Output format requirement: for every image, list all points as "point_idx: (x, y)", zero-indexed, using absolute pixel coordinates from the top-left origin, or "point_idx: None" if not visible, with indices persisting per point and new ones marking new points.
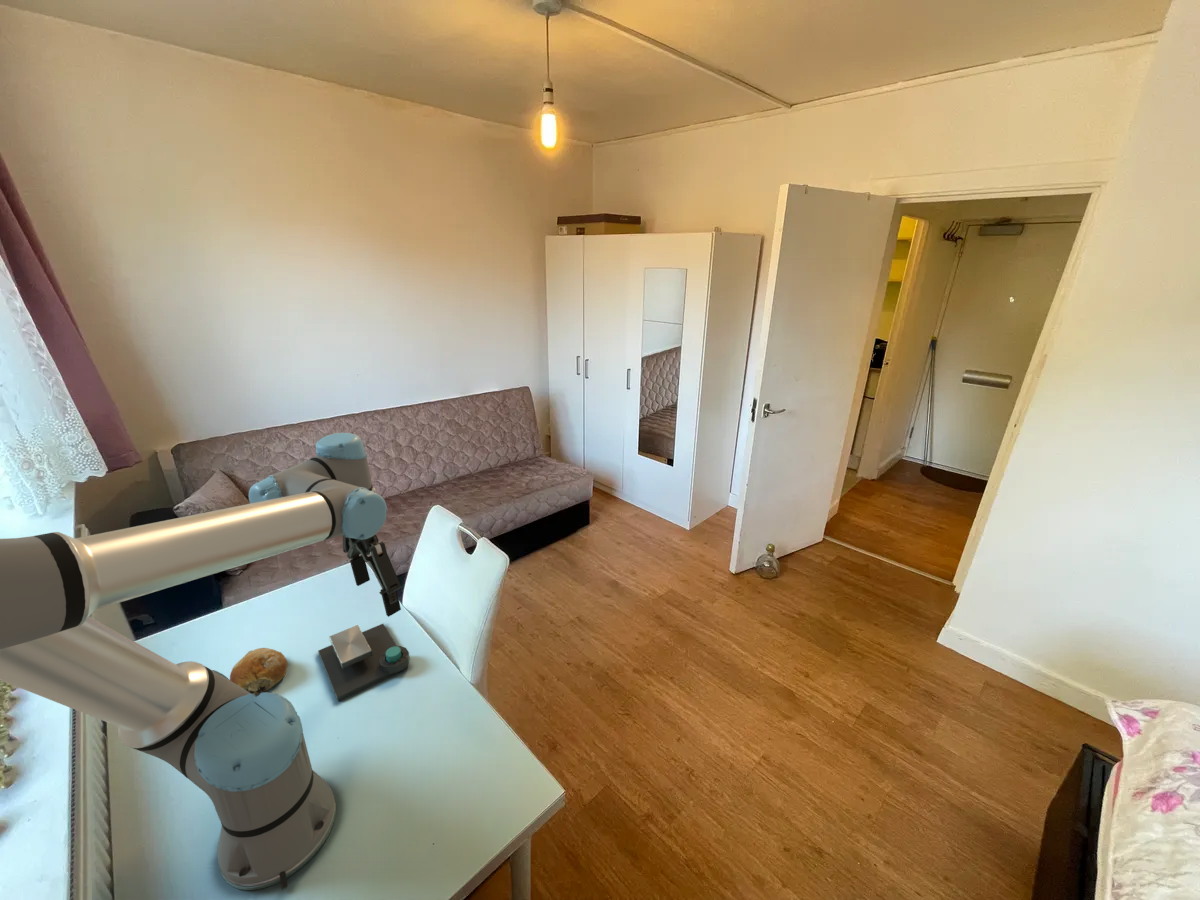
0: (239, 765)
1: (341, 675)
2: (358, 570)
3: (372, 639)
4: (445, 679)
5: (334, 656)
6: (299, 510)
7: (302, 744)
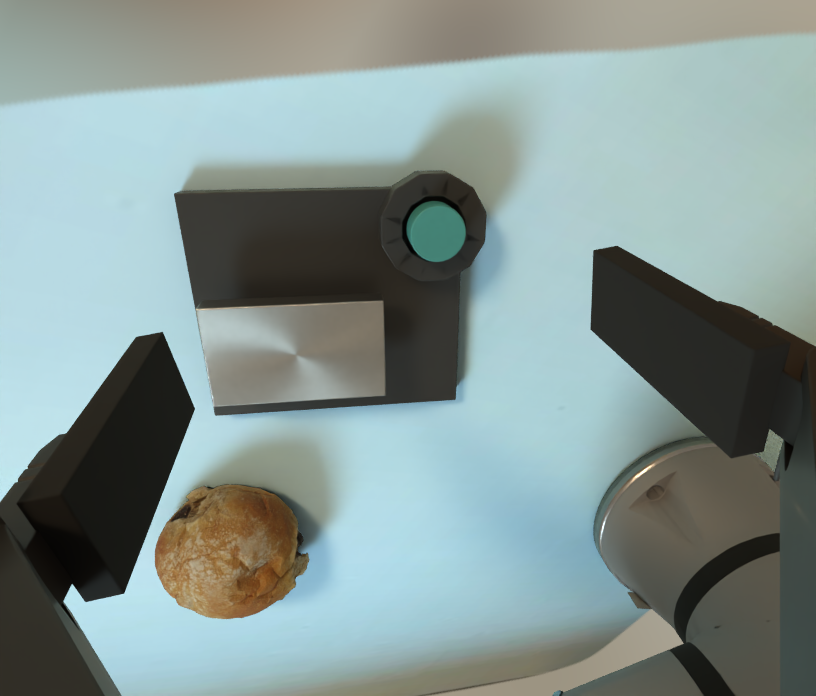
0: None
1: None
2: (148, 465)
3: (256, 256)
4: (597, 90)
5: None
6: None
7: None
